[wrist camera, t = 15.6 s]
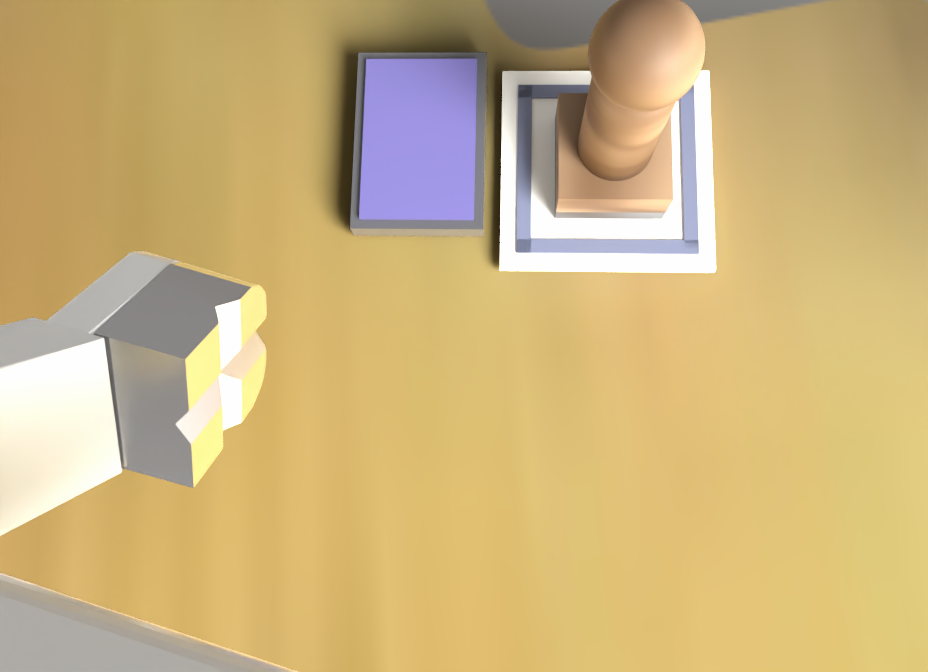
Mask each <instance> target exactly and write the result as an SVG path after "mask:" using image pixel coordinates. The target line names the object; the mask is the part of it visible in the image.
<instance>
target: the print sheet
mask: <svg viewBox="0 0 928 672" xmlns="http://www.w3.org/2000/svg"><path fill="white" fill-rule="evenodd" d="M591 78H592V76H591V73H590V71H503V72H502V141H501V209H500V271H575V272H678V273H715V272H716V252H715V222H714V193H713V163H712V133H711V104H710V74H709V71H700V74H699V76H698V78H697V80H696V81H695V83H694V84H693V86H692V87H691V88H690V90H689V91H688V92H687V93H686V94H685V95H684V96H683V97H681V98H680V99H679V100H678V101H676V104H675V106H674V108H673V110H672V112H671V124H672V165H673V201H672V203H671V204H670V206H669V208H668V209H667V211H666V213H665V214H664V216H663V218H662V219H590V218H555V116H556V109H557V102H558V95H559V93H588V92H589V87H590V82H591Z"/></svg>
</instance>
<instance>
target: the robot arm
mask: <svg viewBox="0 0 928 672" xmlns="http://www.w3.org/2000/svg"><path fill="white" fill-rule="evenodd" d="M266 317H267V308H266V292H265V291H264V290H263V288H262V287H261V286H260V285H258V284H255V283H252V282H248V281H245V280H242V279H238V278H235V277H232V276H228V275H225V274H222V273H218V272H215V271H212V270H208V269H205V268H201V267H198V266H195V265H191V264H188V263H185V262H178V261H177V260H174V259H170V258H167V257H163V256H160V255H156V254H152V253H149V252H145V251H136V252H130V253H129V254H128V255H126V256H125V257H124V258H123V259H121V260H120V261H119V262H118V263H117V264H115V265H114V266H113V267H112V268H110V269H109V270H108V271H107V272H105V273H104V274H103V275H102V276H101V277H99V278H98V279H97V280H96V281H94V282H93V283H92V284H91V285H89V286H88V287H87V288H86V289H84V290H83V291H82V292H81V293H80V294H78V295H77V296H76V297H75V298H73V299H72V300H71V301H70V302H68V303H67V304H66V305H65V306H64V307H62V308H61V309H60V310H59V311H57V312H56V313H55V314H54V315H52V316H51V317H50V318H49V319H48V320H46V321H44V320H41V319H37V318H34V317H32V318H29V319H25V320H21V321H17V322H13V323H9V324H5V325H1V326H0V536H1V535H3V534H5V533H7V532H8V531H10V530H12V529H14V528H16V527H18V526H20V525H22V524H24V523H26V522H28V521H30V520H31V519H33V518H35V517H37V516H39V515H41V514H43V513H45V512H47V511H49V510H51V509H53V508H54V507H56V506H58V505H60V504H62V503H64V502H66V501H68V500H70V499H72V498H74V497H76V496H77V495H79V494H81V493H83V492H85V491H87V490H89V489H91V488H93V487H95V486H97V485H99V484H100V483H102V482H104V481H106V480H108V479H110V478H112V477H114V476H116V475H118V474H120V473H122V468H123V469H127V470H131V471H134V472H138V473H141V474H145V475H149V476H152V477H156V478H159V479H163V480H167V481H170V482H174V483H177V484H181V485H185V486H188V487H192V488H194V487H195V486H196V484H197V483H198V482H199V480H200V479H201V478H202V476H203V475H204V474H205V472H206V471H207V470H208V468H209V467H210V465H211V464H212V463H213V461H214V460H215V459H216V457H217V456H218V455H219V453H220V452H221V451H222V449H223V430H225V429H228V428H230V427H233V426H235V425H238V424H240V423H242V422H243V420H244V419H245V418H246V416H247V415H248V413H249V412H250V410H251V409H252V407H253V406H254V403H255V401H256V399H257V396H258V394H259V391H260V389H261V386H262V384H263V379H264V374H265V368H266V349H267V348H266V346H265V345H264V343H263V342H262V340H261V339H260V337H259V336H258V334H257V333H256V330H257V329H258V327H259V326H260V325H261V324H262V322H263V321H264V320H265V319H266ZM0 672H299V671H296V670H293V669H290V668H287V667H284V666H281V665H278V664H275V663H272V662H268V661H265V660H262V659H259V658H256V657H253V656H250V655H247V654H244V653H241V652H238V651H235V650H232V649H229V648H226V647H223V646H220V645H217V644H214V643H211V642H208V641H205V640H202V639H199V638H196V637H193V636H190V635H187V634H184V633H181V632H178V631H175V630H172V629H169V628H166V627H163V626H160V625H157V624H154V623H151V622H148V621H145V620H142V619H139V618H135V617H132V616H129V615H126V614H123V613H120V612H117V611H114V610H111V609H108V608H105V607H102V606H99V605H96V604H93V603H90V602H87V601H84V600H81V599H78V598H75V597H72V596H69V595H66V594H63V593H60V592H57V591H54V590H51V589H48V588H45V587H42V586H39V585H36V584H33V583H30V582H27V581H24V580H21V579H18V578H15V577H12V576H9V575H6V574H2V573H0Z"/></svg>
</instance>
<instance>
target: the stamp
mask: <svg viewBox="0 0 928 672" xmlns="http://www.w3.org/2000/svg"><path fill="white" fill-rule="evenodd" d="M704 57H705V38H704V33H703V29H702V26H701V24H700V22H699V20H698V18H697V17H696V15H695V13H694V12H693V11H692V9H691V8H690V7H689V6H688V5H687V4H685V3H684V2H683V1H681V0H619V1H617V2H616V3H615V4H613V5H612V6H611V7H610V8H609V9H608V10H607V11H606V12H605V13H604V14H603V15H602V16H601V18H600V19H599V21H598V22H597V24H596V26H595V28H594V30H593V33H592V35H591V39H590V43H589V50H588V63H589V68H590V73H591V76H592V78H591V82H590V87H589V92H588V93H559V95H558V102H557V109H556V116H555V218H590V219H662V218H663V216H664V214H665V213H666V211H667V209H668V208H669V206H670V204H671V203H672V201H673V165H672V124H671V112H672V110H673V108H674V106H675V104H676V101H678V100H679V99H680V98H681V97H683V96H684V95H685V94H686V93H687V92H688V91H689V90H690V88H691V87H692V86H693V84H694V83H695V81H696V80H697V78H698V76H699V74H700V71H701V68H702V65H703V62H704Z"/></svg>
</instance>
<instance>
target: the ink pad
mask: <svg viewBox="0 0 928 672" xmlns="http://www.w3.org/2000/svg"><path fill="white" fill-rule="evenodd" d="M486 88H487V52H452V53H358V71H357V92H356V112H355V133H354V154H353V174H352V195H351V216H350V230H351V231H352V233H353V235H354V236H463V237H484V197H485V143H486Z"/></svg>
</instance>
